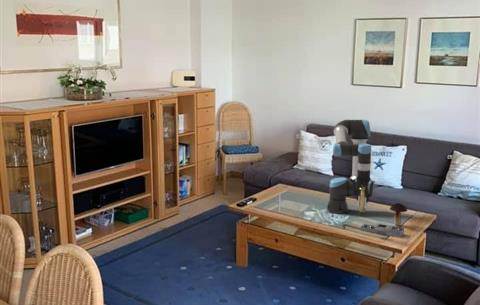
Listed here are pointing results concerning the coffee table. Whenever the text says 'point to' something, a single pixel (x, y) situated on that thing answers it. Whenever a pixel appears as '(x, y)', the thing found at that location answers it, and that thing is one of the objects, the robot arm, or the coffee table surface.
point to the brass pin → (362, 199)
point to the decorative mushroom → (398, 212)
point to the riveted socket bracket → (384, 229)
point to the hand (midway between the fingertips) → (362, 206)
